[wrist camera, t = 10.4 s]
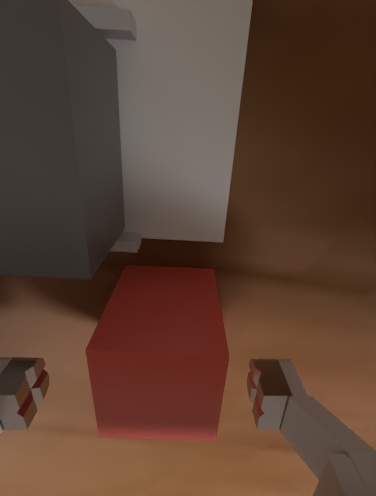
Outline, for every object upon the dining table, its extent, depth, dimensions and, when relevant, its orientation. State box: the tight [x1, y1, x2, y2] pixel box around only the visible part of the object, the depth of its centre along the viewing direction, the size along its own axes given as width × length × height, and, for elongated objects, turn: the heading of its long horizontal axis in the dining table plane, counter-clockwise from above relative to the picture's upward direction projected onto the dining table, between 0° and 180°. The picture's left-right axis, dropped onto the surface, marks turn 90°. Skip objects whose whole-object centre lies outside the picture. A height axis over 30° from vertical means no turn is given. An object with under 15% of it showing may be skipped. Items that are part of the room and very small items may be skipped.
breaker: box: [0, 0, 125, 280], centre depth 6 cm, size 5×5×3 cm
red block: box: [86, 265, 229, 441], centre depth 10 cm, size 4×4×5 cm
